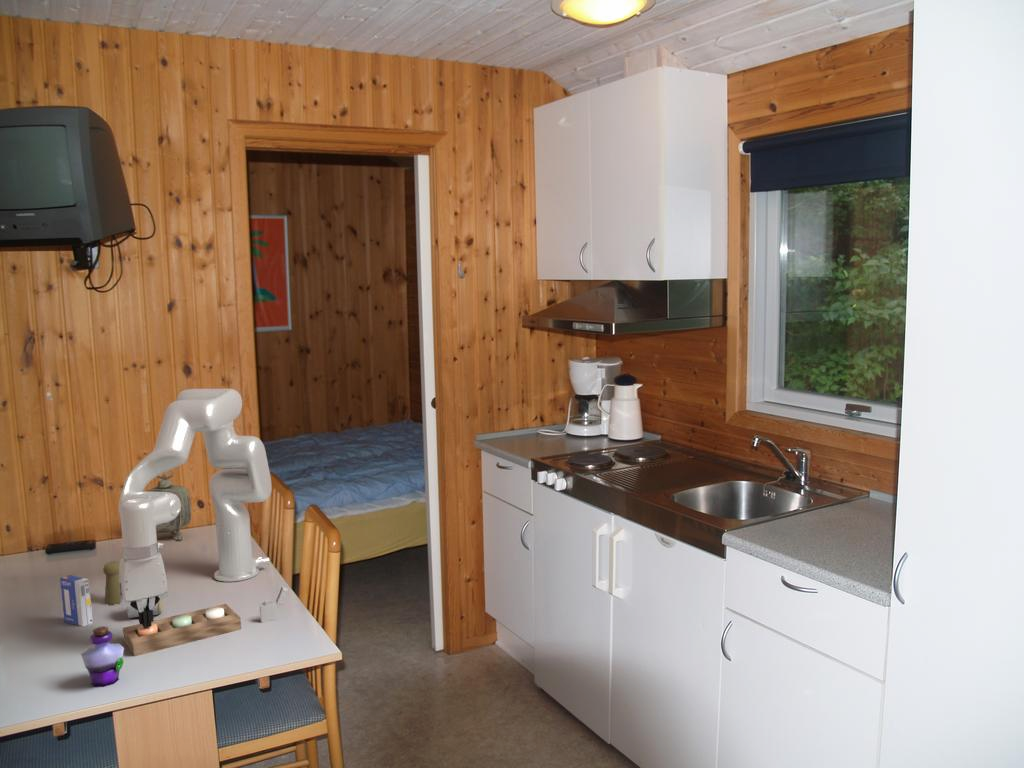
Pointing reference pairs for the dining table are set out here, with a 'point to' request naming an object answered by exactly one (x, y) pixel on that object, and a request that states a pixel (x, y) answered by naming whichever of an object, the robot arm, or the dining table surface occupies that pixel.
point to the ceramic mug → (134, 613)
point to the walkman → (76, 600)
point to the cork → (112, 583)
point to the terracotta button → (147, 630)
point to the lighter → (271, 607)
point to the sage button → (181, 621)
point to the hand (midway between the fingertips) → (146, 625)
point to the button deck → (181, 630)
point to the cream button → (214, 613)
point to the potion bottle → (103, 658)
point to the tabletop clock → (185, 510)
